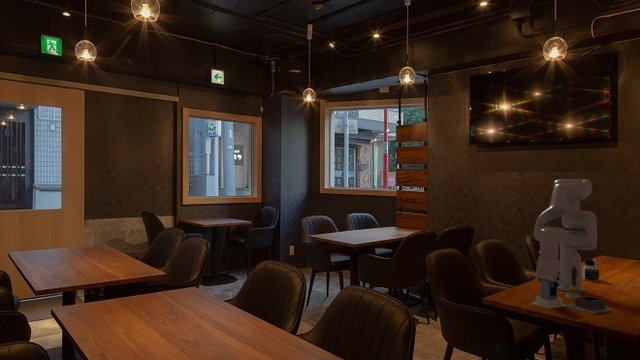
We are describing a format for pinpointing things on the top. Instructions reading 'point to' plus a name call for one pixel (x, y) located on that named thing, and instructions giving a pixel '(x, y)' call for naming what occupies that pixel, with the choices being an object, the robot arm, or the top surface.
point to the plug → (546, 290)
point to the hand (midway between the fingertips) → (549, 294)
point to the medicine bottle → (590, 270)
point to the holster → (549, 302)
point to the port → (590, 304)
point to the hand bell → (573, 286)
